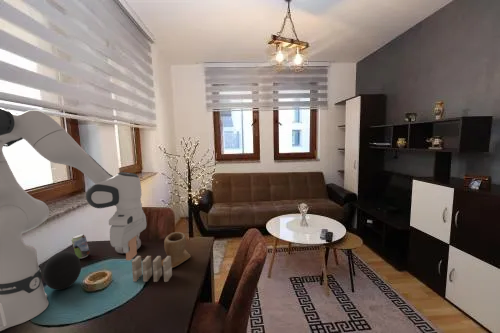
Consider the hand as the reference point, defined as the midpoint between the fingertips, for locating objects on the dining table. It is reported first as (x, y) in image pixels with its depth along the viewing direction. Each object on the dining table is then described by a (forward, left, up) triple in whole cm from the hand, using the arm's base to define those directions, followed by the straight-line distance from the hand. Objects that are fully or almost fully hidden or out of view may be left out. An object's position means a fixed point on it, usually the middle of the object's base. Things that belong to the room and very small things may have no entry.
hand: (131, 248), depth 95 cm
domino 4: (+6, +9, -18) cm, 21 cm away
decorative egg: (-31, +2, -18) cm, 36 cm away
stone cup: (+10, +23, -18) cm, 31 cm away
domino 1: (0, 0, -4) cm, 4 cm away
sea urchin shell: (-23, +37, -18) cm, 47 cm away
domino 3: (+1, +9, -18) cm, 20 cm away
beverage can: (-43, +28, -18) cm, 54 cm away
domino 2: (-3, +9, -18) cm, 20 cm away
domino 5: (+10, +9, -18) cm, 23 cm away
